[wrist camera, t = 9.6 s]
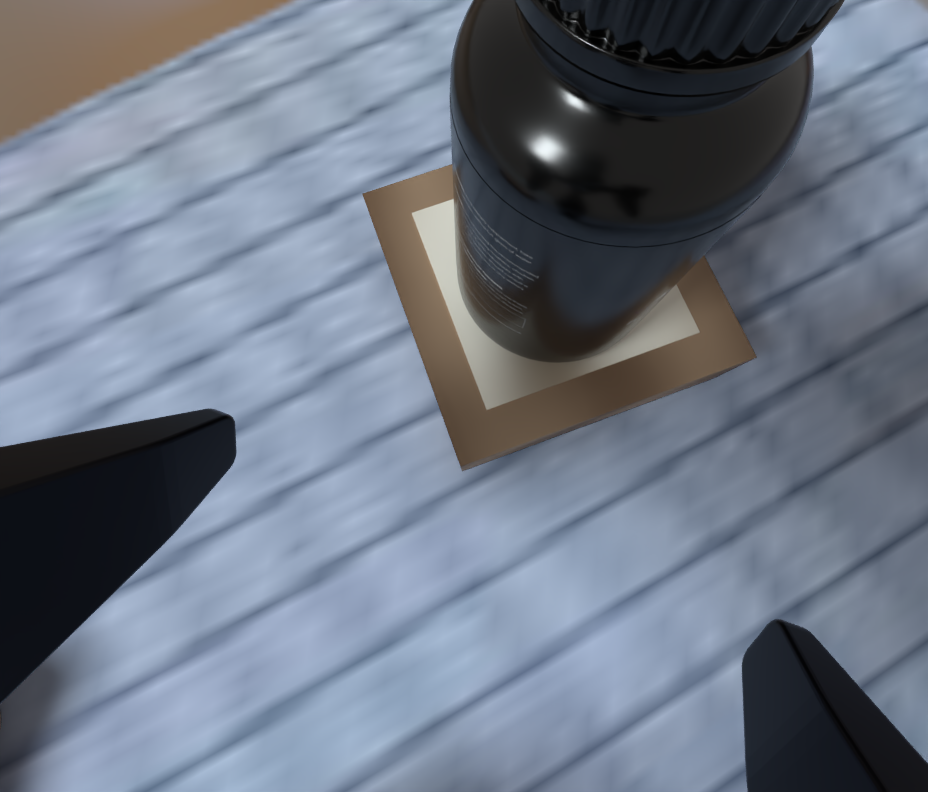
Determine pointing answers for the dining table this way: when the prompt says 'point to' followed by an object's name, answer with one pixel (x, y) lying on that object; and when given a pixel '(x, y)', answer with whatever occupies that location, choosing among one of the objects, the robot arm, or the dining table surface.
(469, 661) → the dining table surface
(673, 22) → the supplement bottle
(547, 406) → the plate
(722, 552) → the dining table surface
